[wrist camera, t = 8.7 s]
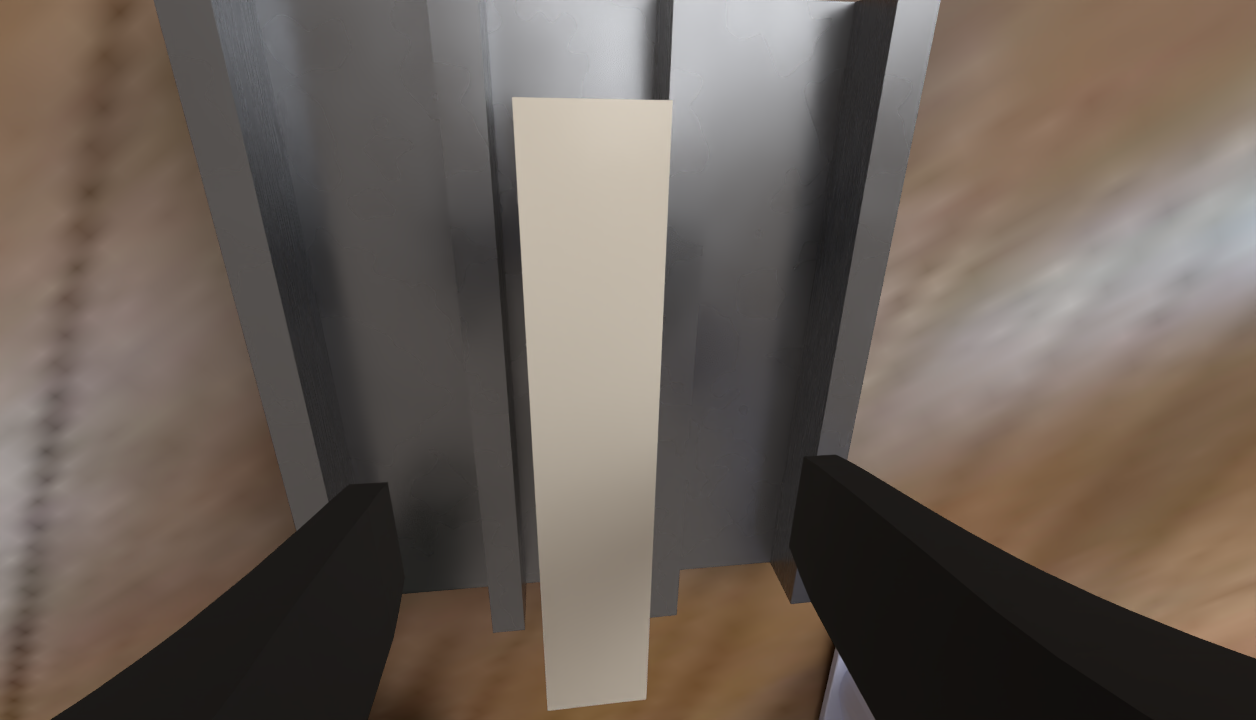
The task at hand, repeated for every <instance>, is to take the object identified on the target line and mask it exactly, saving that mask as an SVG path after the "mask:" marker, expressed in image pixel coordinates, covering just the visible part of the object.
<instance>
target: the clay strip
mask: <svg viewBox="0 0 1256 720" xmlns="http://www.w3.org/2000/svg"><path fill="white" fill-rule="evenodd" d="M672 105H673V100H634V99H584V98H534V97H512V107H513V124H514V141H515V158H516V175H517V193H518V210H519V227H520V244H521V261H522V278H523V296H524V313H525V330H526V347H527V364H528V381H529V399H530V416H531V433H532V450H533V467H534V484H535V501H536V519H537V536H538V553H539V570H540V587H541V604H542V622H543V639H544V656H545V673H546V690H547V707H548V711H550V710H558V709H567V708H575V707H584V706H593V705H601V704H610V703H618V702H627V701H636V700H644V699H646V691H647V669H648V646H649V624H650V601H651V579H652V556H653V534H654V511H655V488H656V466H657V443H658V421H659V398H660V376H661V353H662V331H663V308H664V285H665V263H666V240H667V218H668V195H669V173H670V150H671V128H672Z"/></svg>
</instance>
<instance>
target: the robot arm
mask: <svg viewBox="0 0 1256 720" xmlns="http://www.w3.org/2000/svg"><path fill="white" fill-rule="evenodd" d="M789 548H790V550H791V553H792V556H793V558H794V561H795V564H796V566H797V569H798V572H799V575H800V577H801V579H802V582H803V584H804V587H805V589H806V592H807V594H808V597H809V599H810V601H811V603H812V605H813V606H814V608H815V610H816V612H817V614H818V616H819V618H820V620H821V621H822V623H823V625H824V627H825V629H826V631H827V633H828V634H829V636H830V638H831V640H832V642H833V644H834V645H835V652H834V656H833V661H832V665H831V669H830V674H829V678H828V682H827V687H826V691H825V695H824V700H823V704H822V708H821V713H820V717H819V720H1256V659H1255V658H1252V657H1250V656H1247V655H1244V654H1241V653H1238V652H1236V651H1233V650H1230V649H1227V648H1225V647H1222V646H1219V645H1217V644H1214V643H1211V642H1208V641H1206V640H1203V639H1200V638H1198V637H1195V636H1192V635H1190V634H1187V633H1185V632H1182V631H1180V630H1177V629H1175V628H1172V627H1170V626H1167V625H1165V624H1162V623H1160V622H1157V621H1155V620H1152V619H1150V618H1147V617H1145V616H1142V615H1140V614H1138V613H1135V612H1133V611H1130V610H1128V609H1125V608H1123V607H1121V606H1118V605H1116V604H1114V603H1111V602H1109V601H1107V600H1105V599H1102V598H1100V597H1098V596H1095V595H1093V594H1091V593H1089V592H1087V591H1085V590H1083V589H1080V588H1078V587H1076V586H1074V585H1072V584H1070V583H1068V582H1065V581H1063V580H1061V579H1059V578H1057V577H1055V576H1053V575H1050V574H1048V573H1046V572H1044V571H1042V570H1040V569H1038V568H1036V567H1034V566H1032V565H1030V564H1028V563H1026V562H1024V561H1022V560H1020V559H1018V558H1016V557H1014V556H1012V555H1011V554H1009V553H1007V552H1005V551H1003V550H1001V549H999V548H998V547H996V546H994V545H992V544H990V543H988V542H986V541H984V540H983V539H981V538H979V537H977V536H975V535H973V534H972V533H970V532H968V531H966V530H965V529H963V528H961V527H959V526H958V525H956V524H954V523H952V522H951V521H949V520H947V519H945V518H944V517H942V516H940V515H939V514H937V513H935V512H933V511H932V510H930V509H928V508H927V507H925V506H923V505H922V504H920V503H918V502H917V501H915V500H913V499H912V498H910V497H908V496H907V495H905V494H903V493H902V492H900V491H898V490H897V489H895V488H894V487H892V486H890V485H889V484H887V483H885V482H884V481H882V480H880V479H879V478H877V477H875V476H874V475H872V474H870V473H869V472H867V471H865V470H864V469H862V468H860V467H858V466H857V465H855V464H853V463H851V462H849V461H848V460H846V459H844V458H842V457H840V456H838V455H836V454H835V455H819V456H804V458H803V464H802V470H801V476H800V482H799V488H798V494H797V500H796V506H795V512H794V518H793V524H792V530H791V536H790V542H789ZM404 580H405V575H404V569H403V564H402V558H401V553H400V547H399V542H398V536H397V531H396V525H395V519H394V514H393V508H392V503H391V497H390V492H389V486H388V482H381V483H365V484H349V485H348V486H347V487H345V488H344V489H343V490H342V491H341V492H339V493H338V494H337V495H336V496H335V497H334V498H333V499H332V500H330V501H329V502H328V503H327V504H326V505H325V506H324V507H323V508H322V509H320V510H319V511H318V512H317V513H316V514H315V515H314V516H313V517H312V518H311V519H310V520H308V521H307V522H306V523H305V524H304V525H303V526H302V527H301V528H300V529H298V530H297V531H296V532H295V533H294V534H293V535H292V536H291V537H289V538H288V539H287V540H286V541H285V542H284V543H283V544H282V545H280V546H279V547H278V548H277V549H276V550H275V551H274V552H272V553H271V554H270V555H269V556H268V557H267V558H266V559H265V560H263V561H262V562H261V563H260V564H259V565H258V566H257V567H255V568H254V569H253V570H252V571H251V572H250V573H248V574H247V575H246V576H245V577H244V578H242V579H241V580H240V581H239V582H237V583H236V584H235V585H234V586H232V587H231V588H230V589H229V590H228V591H226V592H225V593H224V594H223V595H221V596H220V597H219V598H218V599H216V600H215V601H214V602H213V603H212V604H210V605H209V606H208V607H207V608H205V609H204V610H203V611H202V612H200V613H199V614H198V615H197V616H196V617H194V618H193V619H192V620H191V621H189V622H188V623H187V624H186V625H184V626H183V627H182V628H181V629H179V630H178V631H177V632H175V633H174V634H173V635H171V636H170V637H169V638H167V639H166V640H165V641H163V642H162V643H161V644H159V645H158V646H157V647H155V648H154V649H153V650H151V651H150V652H149V653H147V654H146V655H144V656H143V657H142V658H140V659H139V660H137V661H136V662H135V663H133V664H132V665H130V666H129V667H128V668H126V669H125V670H123V671H122V672H120V673H119V674H118V675H116V676H115V677H113V678H112V679H111V680H109V681H108V682H106V683H105V684H103V685H102V686H101V687H99V688H98V689H96V690H95V691H93V692H92V693H90V694H89V695H88V696H86V697H85V698H83V699H82V700H80V701H79V702H77V703H76V704H74V705H73V706H71V707H69V708H68V709H66V710H65V711H63V712H62V713H60V714H59V715H57V716H55V717H54V718H52V719H51V720H368V717H369V714H370V711H371V707H372V704H373V701H374V698H375V695H376V692H377V689H378V686H379V682H380V679H381V676H382V673H383V670H384V667H385V663H386V660H387V657H388V654H389V651H390V647H391V644H392V641H393V638H394V633H395V628H396V623H397V618H398V613H399V608H400V602H401V597H402V591H403V585H404Z"/></svg>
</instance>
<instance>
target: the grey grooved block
mask: <svg viewBox="0 0 1256 720" xmlns="http://www.w3.org/2000/svg"><path fill="white" fill-rule="evenodd" d="M940 1H941V0H860V1H857V2H840V1H819V0H154V3H155V7H156V11H157V14H158V18H159V22H160V25H161V29H162V33H163V37H164V40H165V44H166V48H167V51H168V55H169V59H170V63H171V66H172V70H173V74H174V77H175V81H176V85H177V89H178V92H179V96H180V100H181V103H182V107H183V111H184V115H185V118H186V122H187V126H188V130H189V133H190V137H191V141H192V144H193V148H194V152H195V156H196V159H197V163H198V167H199V170H200V174H201V178H202V182H203V185H204V189H205V193H206V196H207V200H208V204H209V208H210V211H211V215H212V219H213V222H214V226H215V230H216V234H217V237H218V241H219V245H220V248H221V252H222V256H223V260H224V263H225V267H226V271H227V275H228V278H229V282H230V286H231V289H232V293H233V297H234V301H235V304H236V308H237V312H238V315H239V319H240V323H241V327H242V330H243V334H244V338H245V341H246V345H247V349H248V353H249V356H250V360H251V364H252V367H253V371H254V375H255V379H256V382H257V386H258V390H259V393H260V397H261V401H262V405H263V408H264V412H265V416H266V420H267V423H268V427H269V431H270V434H271V438H272V442H273V446H274V449H275V453H276V457H277V460H278V464H279V468H280V472H281V475H282V479H283V483H284V486H285V490H286V494H287V498H288V501H289V505H290V509H291V512H292V516H293V520H294V524H295V527H296V531H297V530H298V529H300V528H301V527H302V526H303V525H304V524H305V523H306V522H307V521H308V520H310V519H311V518H312V517H313V516H314V515H315V514H316V513H317V512H318V511H319V510H320V509H322V508H323V507H324V506H325V505H326V504H327V503H328V502H329V501H330V500H332V499H333V498H334V497H335V496H336V495H337V494H338V493H339V492H341V491H342V490H343V489H344V488H345V487H347V486H348V485H349V484H365V483H381V482H388V486H389V492H390V497H391V503H392V508H393V514H394V519H395V525H396V531H397V536H398V542H399V547H400V553H401V558H402V564H403V569H404V575H405V580H404V585H403V591H402V594H406V593H418V592H429V591H441V590H453V589H464V588H476V587H487V586H488V588H489V598H490V607H491V617H492V626H493V633H496V632H506V631H517V630H525V608H526V583H533V582H540V570H539V553H538V536H537V519H536V501H535V484H534V467H533V450H532V433H531V416H530V399H529V381H528V364H527V347H526V330H525V313H524V296H523V278H522V261H521V244H520V227H519V210H518V193H517V175H516V158H515V141H514V124H513V107H512V97H534V98H584V99H634V100H673V105H672V128H671V150H670V173H669V195H668V218H667V240H666V263H665V285H664V308H663V331H662V353H661V376H660V398H659V421H658V443H657V466H656V488H655V511H654V534H653V556H652V579H651V601H650V617H661V616H671V615H677V601H678V587H679V573H680V570H683V569H694V568H706V567H717V566H729V565H741V564H752V563H764V562H770V563H771V565H772V567H773V569H774V571H775V573H776V575H777V577H778V579H779V581H780V583H781V585H782V587H783V589H784V591H785V593H786V595H787V597H788V599H789V601H790V603H791V604H795V603H805V602H811V601H810V599H809V597H808V594H807V592H806V589H805V587H804V584H803V582H802V579H801V577H800V575H799V572H798V569H797V566H796V564H795V561H794V558H793V556H792V553H791V550H790V548H789V542H790V536H791V530H792V524H793V518H794V512H795V506H796V500H797V494H798V488H799V482H800V476H801V470H802V464H803V458H804V456H819V455H835V454H836V455H838V456H840V457H842V458H844V459H846V460H847V458H848V453H849V448H850V443H851V438H852V433H853V428H854V423H855V418H856V413H857V409H858V404H859V399H860V394H861V389H862V384H863V379H864V374H865V369H866V364H867V359H868V355H869V350H870V345H871V340H872V335H873V330H874V325H875V320H876V315H877V310H878V305H879V300H880V296H881V291H882V286H883V281H884V276H885V271H886V266H887V261H888V256H889V251H890V246H891V241H892V237H893V232H894V227H895V222H896V217H897V212H898V207H899V202H900V197H901V192H902V187H903V182H904V178H905V173H906V168H907V163H908V158H909V153H910V148H911V143H912V138H913V133H914V128H915V124H916V119H917V114H918V109H919V104H920V99H921V94H922V89H923V84H924V79H925V74H926V69H927V65H928V60H929V55H930V50H931V45H932V40H933V35H934V30H935V25H936V20H937V15H938V10H939V6H940Z"/></svg>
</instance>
